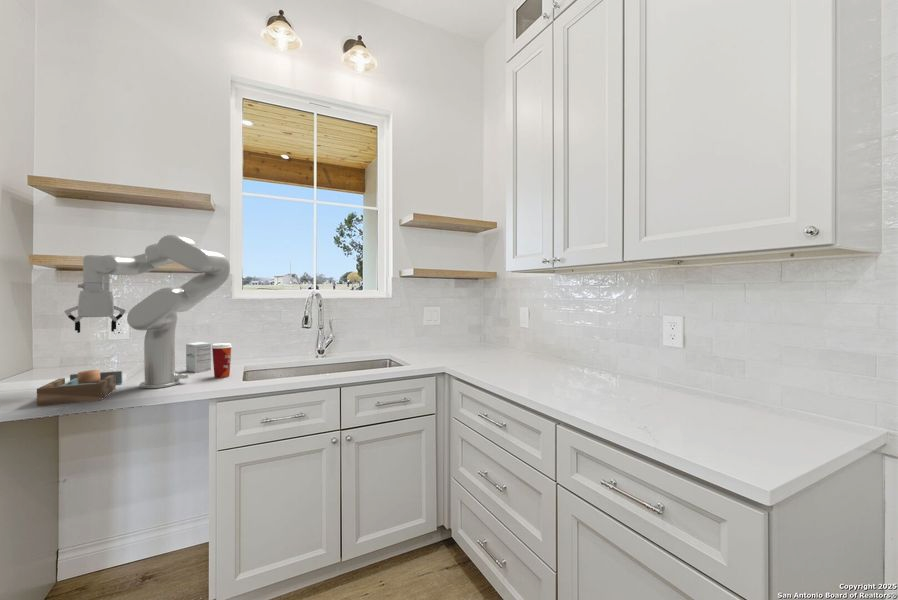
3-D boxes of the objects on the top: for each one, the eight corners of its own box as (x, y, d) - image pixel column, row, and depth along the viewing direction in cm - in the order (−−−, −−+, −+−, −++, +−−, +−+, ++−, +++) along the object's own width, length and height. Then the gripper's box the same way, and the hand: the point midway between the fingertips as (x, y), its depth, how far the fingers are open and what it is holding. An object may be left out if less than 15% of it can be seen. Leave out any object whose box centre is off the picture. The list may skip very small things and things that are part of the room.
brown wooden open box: (59, 394, 137) (58, 378, 136) (115, 389, 144) (115, 374, 143) (37, 406, 123) (36, 388, 123) (100, 400, 130) (100, 383, 130)
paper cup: (231, 377, 164) (231, 344, 164) (210, 379, 161) (210, 345, 161) (232, 373, 171) (232, 342, 171) (212, 375, 168) (212, 343, 168)
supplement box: (185, 371, 176) (185, 343, 176) (202, 368, 183) (202, 341, 182) (194, 372, 173) (194, 344, 172) (211, 369, 179) (211, 342, 179)
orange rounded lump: (102, 385, 146) (102, 369, 145) (98, 388, 140) (97, 372, 140) (81, 387, 143) (80, 371, 142) (75, 391, 137) (75, 374, 137)
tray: (71, 387, 145) (71, 374, 145) (122, 383, 152) (122, 370, 152) (53, 396, 132) (52, 383, 132) (109, 392, 139) (109, 378, 139)
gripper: (64, 287, 140) (63, 334, 140) (126, 288, 152) (125, 331, 152) (65, 286, 145) (65, 332, 146) (125, 287, 157) (124, 329, 157)
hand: (96, 331), depth 149 cm, fingers open, 9 cm apart
